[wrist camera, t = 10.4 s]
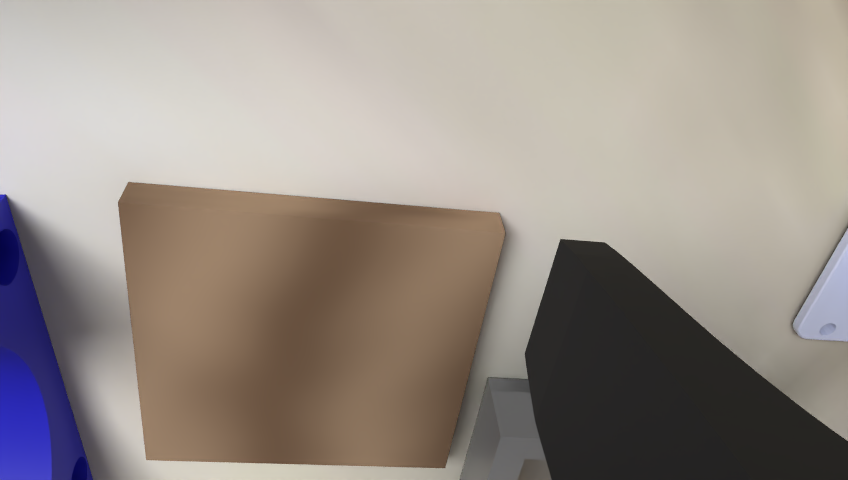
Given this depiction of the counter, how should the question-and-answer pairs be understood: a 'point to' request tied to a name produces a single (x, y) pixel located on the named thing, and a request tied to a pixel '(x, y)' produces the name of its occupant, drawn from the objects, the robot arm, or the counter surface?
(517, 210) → the counter surface
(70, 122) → the counter surface
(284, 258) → the brown square tile
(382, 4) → the counter surface
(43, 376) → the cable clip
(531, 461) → the parts tray
